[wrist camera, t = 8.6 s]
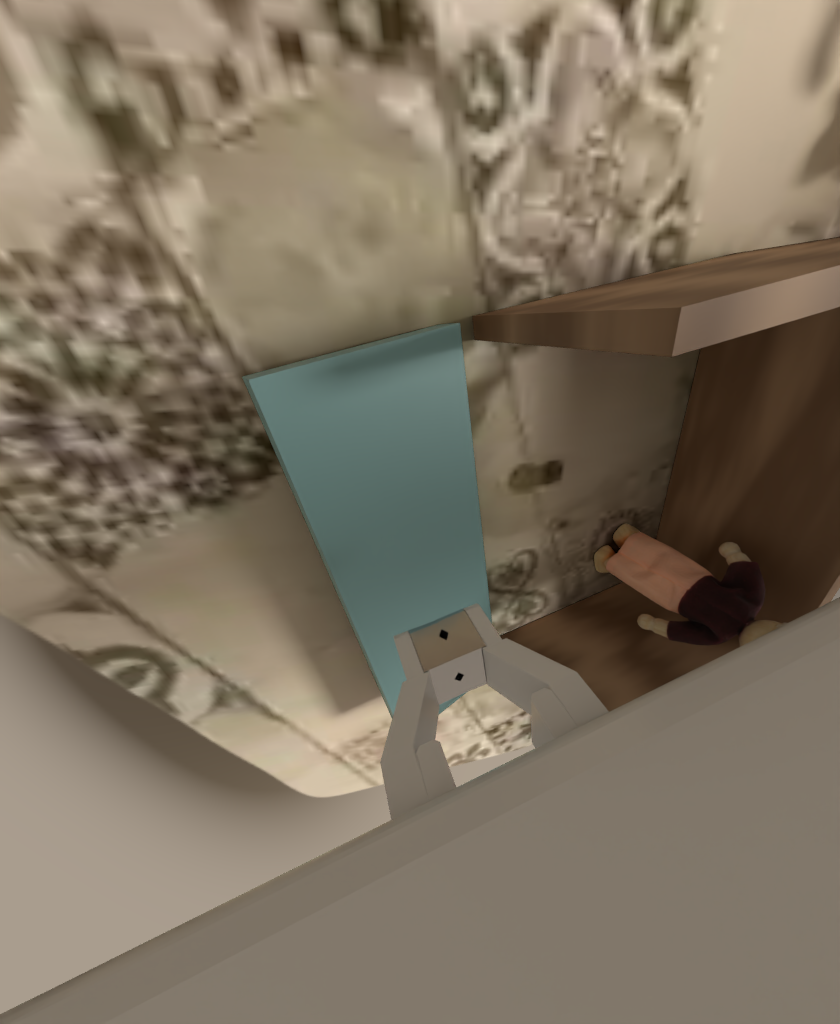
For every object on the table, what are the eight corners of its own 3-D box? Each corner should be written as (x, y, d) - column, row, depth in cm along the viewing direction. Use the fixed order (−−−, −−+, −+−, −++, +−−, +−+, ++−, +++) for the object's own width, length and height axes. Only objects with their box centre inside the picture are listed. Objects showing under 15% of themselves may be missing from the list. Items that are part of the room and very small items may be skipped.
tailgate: (459, 322, 14) (248, 380, 11) (496, 668, 27) (404, 741, 23) (428, 325, 16) (238, 374, 12) (477, 648, 28) (389, 714, 25)
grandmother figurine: (601, 584, 29) (779, 731, 19) (575, 574, 27) (756, 730, 17) (662, 509, 27) (900, 627, 17) (639, 493, 25) (890, 613, 15)
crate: (736, 252, 19) (1096, 196, 10) (655, 575, 31) (788, 665, 23) (472, 315, 16) (681, 307, 7) (501, 643, 28) (590, 775, 20)
